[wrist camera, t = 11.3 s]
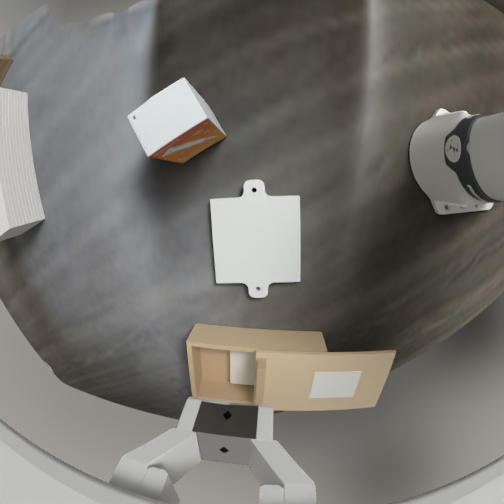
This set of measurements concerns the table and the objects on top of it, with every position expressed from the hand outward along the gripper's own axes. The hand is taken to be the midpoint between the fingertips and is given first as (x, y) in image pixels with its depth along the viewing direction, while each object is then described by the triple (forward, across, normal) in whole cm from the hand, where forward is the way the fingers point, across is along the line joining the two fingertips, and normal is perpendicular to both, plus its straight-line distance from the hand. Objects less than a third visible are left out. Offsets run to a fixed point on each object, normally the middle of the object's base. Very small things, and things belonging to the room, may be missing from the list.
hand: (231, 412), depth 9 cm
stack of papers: (+35, +55, -15) cm, 67 cm away
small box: (+34, +11, -15) cm, 39 cm away
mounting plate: (+35, +1, +1) cm, 35 cm away
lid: (+28, -12, +23) cm, 38 cm away
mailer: (+34, 0, +23) cm, 41 cm away
